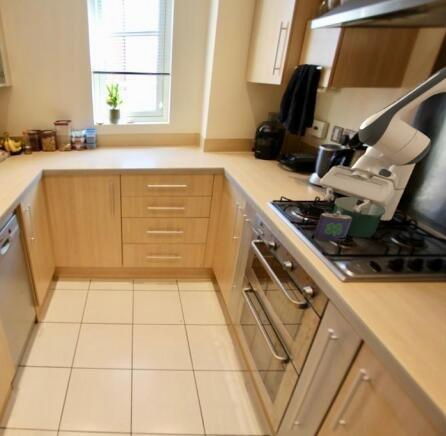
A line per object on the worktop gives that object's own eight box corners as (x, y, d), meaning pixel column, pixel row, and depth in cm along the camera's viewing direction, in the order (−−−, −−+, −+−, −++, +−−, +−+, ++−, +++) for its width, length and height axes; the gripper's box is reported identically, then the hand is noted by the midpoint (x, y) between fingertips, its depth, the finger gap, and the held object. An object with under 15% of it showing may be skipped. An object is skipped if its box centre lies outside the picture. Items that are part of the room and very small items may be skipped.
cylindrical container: (382, 221, 118) (409, 156, 107) (364, 213, 124) (388, 151, 113) (396, 218, 120) (424, 154, 108) (377, 210, 126) (402, 149, 115)
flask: (342, 238, 108) (352, 210, 103) (345, 242, 106) (356, 214, 101) (312, 235, 110) (321, 208, 105) (315, 239, 108) (324, 211, 103)
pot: (386, 229, 113) (395, 208, 109) (355, 243, 105) (364, 221, 101) (347, 214, 124) (354, 194, 120) (316, 226, 116) (323, 205, 112)
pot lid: (393, 211, 108) (398, 199, 106) (369, 221, 102) (374, 208, 100) (349, 196, 120) (353, 185, 117) (325, 205, 114) (329, 193, 112)
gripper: (333, 158, 109) (307, 190, 110) (402, 176, 93) (372, 213, 94) (337, 168, 113) (312, 199, 114) (404, 187, 97) (375, 222, 98)
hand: (340, 205), depth 104 cm, fingers open, 8 cm apart
